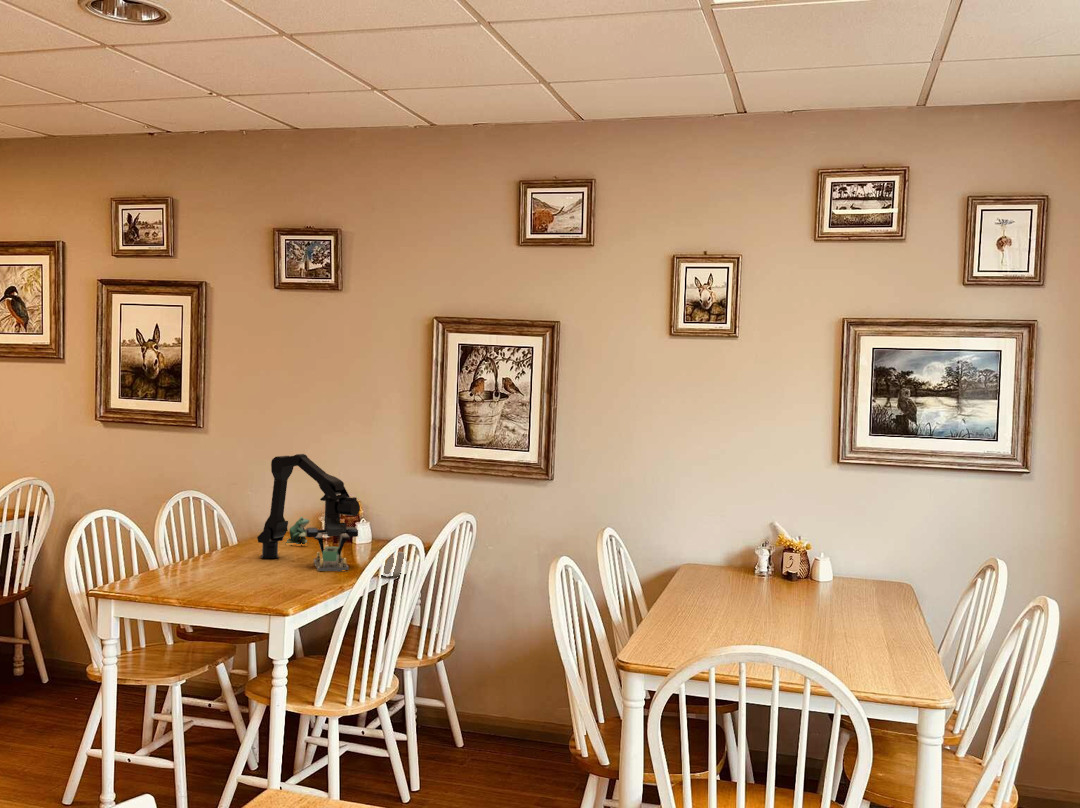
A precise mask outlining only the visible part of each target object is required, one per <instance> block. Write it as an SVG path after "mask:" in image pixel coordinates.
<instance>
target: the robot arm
mask: <svg viewBox="0 0 1080 808" xmlns="http://www.w3.org/2000/svg"><path fill="white" fill-rule="evenodd" d="M270 467H271V469H270V470H271V474H272V476H273V478H274V479H273V487H272V495H271V496H272V497H271V505H270V514H269V516H268V518H267V519H266V521H265V523H264V526H263V530H262V531H261V532H260V534H259V535H258V536H256V538H257V542H258V543H259V544H262V551H261V553H262V554H260V559H261V558H262V559H261V560H266V559H267V558H268V559H267V560H270V559H269V558H279V559H280V556H279V554H278V552H279V545H278V544H279V542H282V541H283V540H284V537H285V535H286V534H287V532H288V527H289V526H288V525H289V520H286V519H285V516H284V512H285V504H286V503H285V502H286V495H287V488H288V481H289V478H290V477H291V475H292V473H293V471H294V467H299V468H300V469H301V470H302V471H303V472H305V474H306V475H308V476H309V477H310V478H312V479H313V480H314V481H315V482H316V483H317V484H318V486H319V489H320V491H322V492H323V494H324V495H323V496H322V497H321V498H320V501H322V502H324V527H323V529H318V527H312V526H311V527H306V528H305V529H306V536H305V538H314V539H313V540H317V542H318V545H319V548H320V553H321V554H322V556H323V550H324V549H325V547H324V537H323V535H324V536H328V537H339V542H338V543H339V544H338V547H339V550H338V555H340V553H341V551H342V550H343V547H344V546H345V543H346V541H347V540H350V538H353V537H354V538H355V537H357V538H358V537H359V529H357V528H356V527H355V526H347V522H341V515H343V516H349V517H350V516H351V517H356V516H358V515H359V512H360V510H361V506H360V502H359V501H358V498H357V497H355V496H354V497H351V496H350V495H349V493H348V490H347V489H346V486H345V483H344V482H343V481H342V479H340V478H338V477H337V476H334V475H331V474H329V473H327V472H326V471H325V470H323V469H322V468H321V467H320V466H319V465H317V464H316V463H315V462H314V461H312V460H311V459H310V458H309V457H308V455H306V454H305V453H297V454H294V455H281V456H279V455H278V456H275V457H273V458H272V460H271V463H270ZM342 552H343V551H342Z"/></svg>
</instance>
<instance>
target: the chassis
mask: <svg viewBox="0 0 1080 808" xmlns="http://www.w3.org/2000/svg"><path fill="white" fill-rule="evenodd" d="M342 556H343V551H341V553H340V555H339V557H338V559H337V561H323V560H324V558H321V551H316V558H313V564H314V563H315V564H314V566H316V567H315V568H317V569H316V571H317V570H318V571H337V572H343V571H342V570H349V569H350V566H349V565H348V563H347V557H342ZM318 571H317V572H318ZM349 571H350V570H349Z"/></svg>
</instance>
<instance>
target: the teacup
mask: <svg viewBox="0 0 1080 808" xmlns="http://www.w3.org/2000/svg"><path fill="white" fill-rule="evenodd" d="M378 553H379V552H377V553H376V554H375V555H374V556H375V557H376V555H377V554H378ZM404 553H405V552H402V551H399V552H398V557H397V563H396V566H395V569H394V572H393V577H392V578H395V577H400V575H401V574H400V572H401V567H402V564H403V559H404ZM393 563H394V558H393V555H391V556H390V558H388V560H387V562H386V564H385V566H384V573H385V574H389V573H390V570H391V569H392V567H393ZM399 574H400V575H399Z"/></svg>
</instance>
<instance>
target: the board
mask: <svg viewBox="0 0 1080 808" xmlns="http://www.w3.org/2000/svg"><path fill="white" fill-rule="evenodd" d="M338 550H339V546H325V547H324V550H323V555H322V558H324V560H323V561H337V559H338V558H339V555H338Z"/></svg>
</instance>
